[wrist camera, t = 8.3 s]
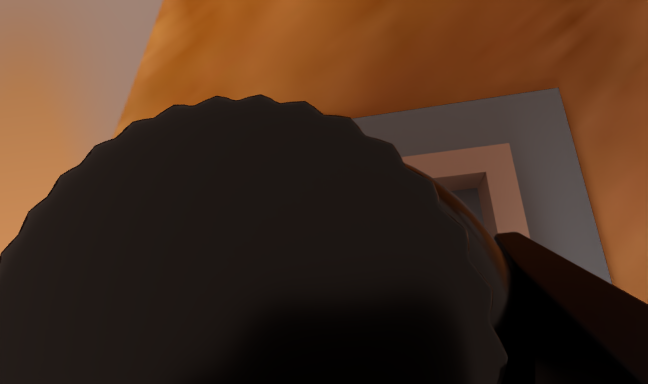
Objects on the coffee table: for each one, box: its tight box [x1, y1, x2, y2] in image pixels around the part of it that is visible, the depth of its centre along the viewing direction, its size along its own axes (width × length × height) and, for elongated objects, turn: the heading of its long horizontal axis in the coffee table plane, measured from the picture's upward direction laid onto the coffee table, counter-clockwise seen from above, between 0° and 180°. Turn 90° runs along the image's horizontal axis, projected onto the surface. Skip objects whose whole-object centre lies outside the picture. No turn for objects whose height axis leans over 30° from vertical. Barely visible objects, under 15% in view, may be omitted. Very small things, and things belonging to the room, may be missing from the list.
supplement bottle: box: [0, 94, 535, 384], centre depth 9 cm, size 7×7×12 cm
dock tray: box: [352, 88, 612, 284], centre depth 16 cm, size 18×18×3 cm
